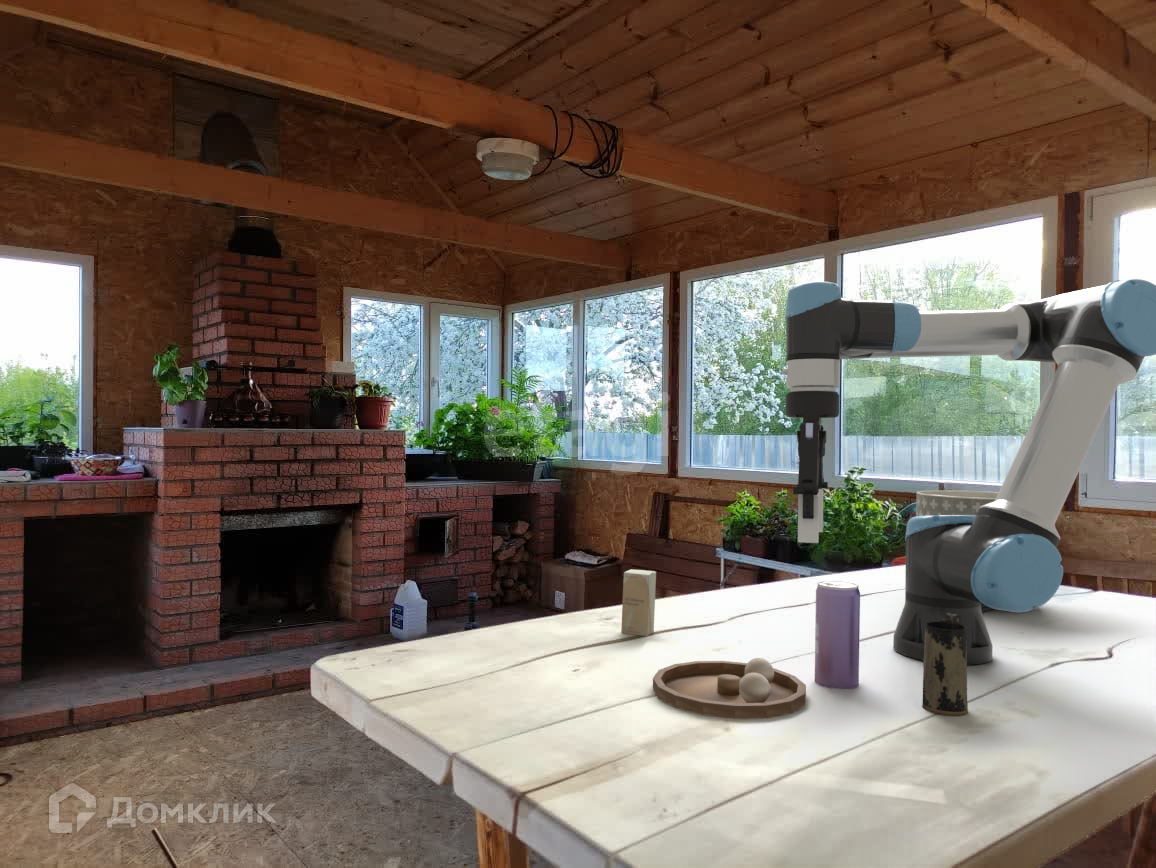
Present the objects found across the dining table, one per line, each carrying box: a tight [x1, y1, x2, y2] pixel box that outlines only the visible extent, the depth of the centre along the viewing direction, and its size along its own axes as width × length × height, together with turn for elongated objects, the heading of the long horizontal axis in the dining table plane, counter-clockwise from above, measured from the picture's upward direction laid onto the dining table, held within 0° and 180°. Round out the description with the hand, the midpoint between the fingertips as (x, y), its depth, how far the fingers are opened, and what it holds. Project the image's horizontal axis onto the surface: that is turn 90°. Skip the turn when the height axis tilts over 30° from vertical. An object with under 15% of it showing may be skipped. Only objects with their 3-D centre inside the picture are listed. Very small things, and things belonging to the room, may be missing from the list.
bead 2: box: [739, 673, 770, 703], centre depth 106 cm, size 4×4×4 cm
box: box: [620, 568, 657, 637], centre depth 148 cm, size 5×4×11 cm
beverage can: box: [814, 579, 861, 690], centre depth 116 cm, size 6×6×15 cm
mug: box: [921, 613, 969, 717], centre depth 109 cm, size 8×6×12 cm
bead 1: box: [745, 657, 775, 684], centre depth 113 cm, size 4×4×4 cm
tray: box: [652, 660, 807, 719], centre depth 111 cm, size 20×20×3 cm
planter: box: [915, 489, 999, 608], centre depth 181 cm, size 25×25×24 cm
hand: (811, 537), depth 119 cm, fingers open, 13 cm apart
